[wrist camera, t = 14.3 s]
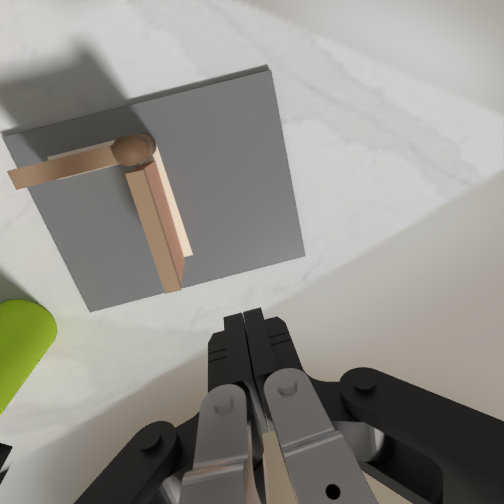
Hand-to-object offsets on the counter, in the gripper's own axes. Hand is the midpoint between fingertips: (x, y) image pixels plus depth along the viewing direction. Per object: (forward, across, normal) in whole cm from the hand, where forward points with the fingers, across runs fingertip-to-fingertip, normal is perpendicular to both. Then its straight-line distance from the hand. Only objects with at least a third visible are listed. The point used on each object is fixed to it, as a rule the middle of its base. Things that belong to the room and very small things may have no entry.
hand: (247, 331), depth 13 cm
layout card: (+18, +4, -2) cm, 19 cm away
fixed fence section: (+18, +8, -7) cm, 21 cm away
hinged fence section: (+17, +5, -1) cm, 18 cm away
